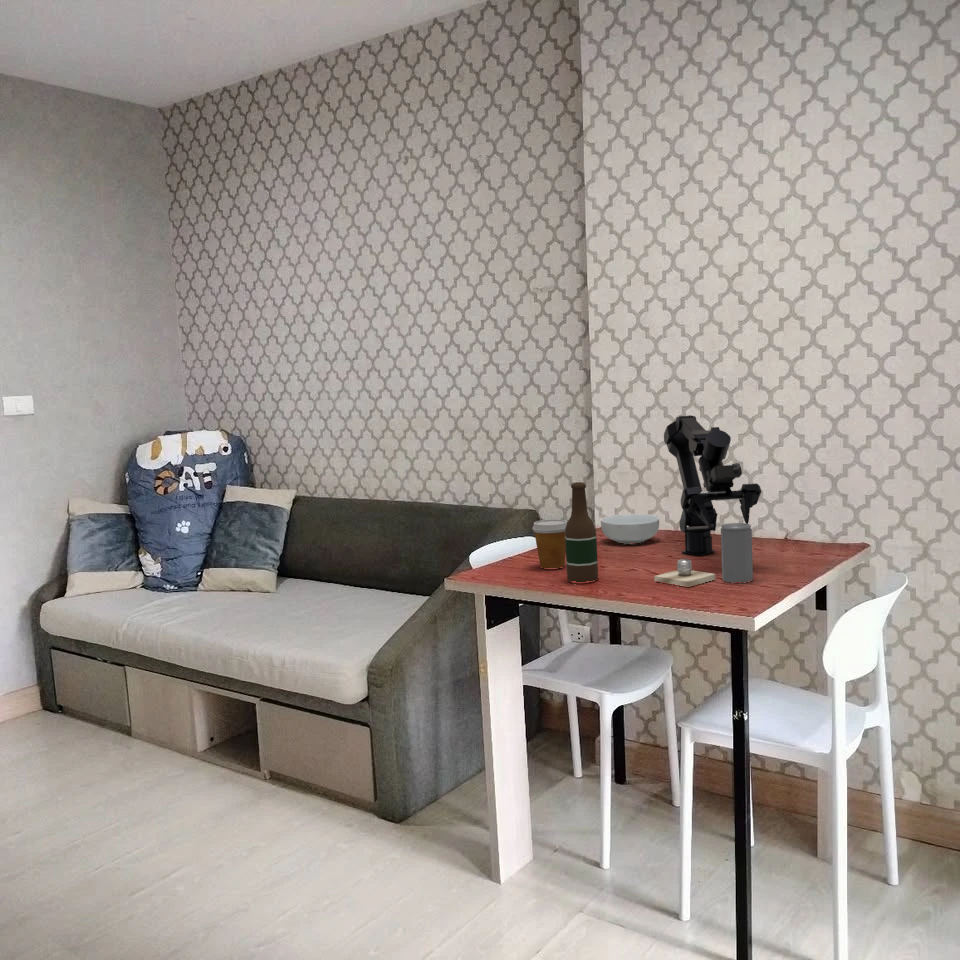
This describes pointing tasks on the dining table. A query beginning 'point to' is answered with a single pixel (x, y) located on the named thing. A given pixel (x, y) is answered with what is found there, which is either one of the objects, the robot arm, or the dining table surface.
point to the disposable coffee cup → (550, 542)
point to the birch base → (685, 578)
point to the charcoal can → (736, 552)
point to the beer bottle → (580, 539)
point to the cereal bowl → (630, 527)
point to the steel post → (684, 567)
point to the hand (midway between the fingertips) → (728, 524)
